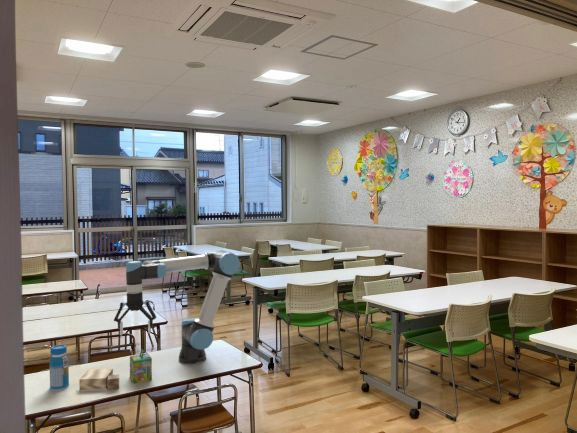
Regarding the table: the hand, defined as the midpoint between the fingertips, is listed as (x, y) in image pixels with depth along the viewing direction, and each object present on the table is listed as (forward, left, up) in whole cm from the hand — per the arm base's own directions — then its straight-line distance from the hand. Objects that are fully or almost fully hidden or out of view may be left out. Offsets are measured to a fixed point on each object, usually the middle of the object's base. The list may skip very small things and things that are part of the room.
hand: (135, 333), depth 222 cm
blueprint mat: (+15, +3, -23) cm, 27 cm away
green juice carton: (-2, +1, -23) cm, 23 cm away
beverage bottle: (+35, +6, -23) cm, 42 cm away
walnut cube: (+8, +10, -22) cm, 26 cm away
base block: (+18, +5, -22) cm, 29 cm away
